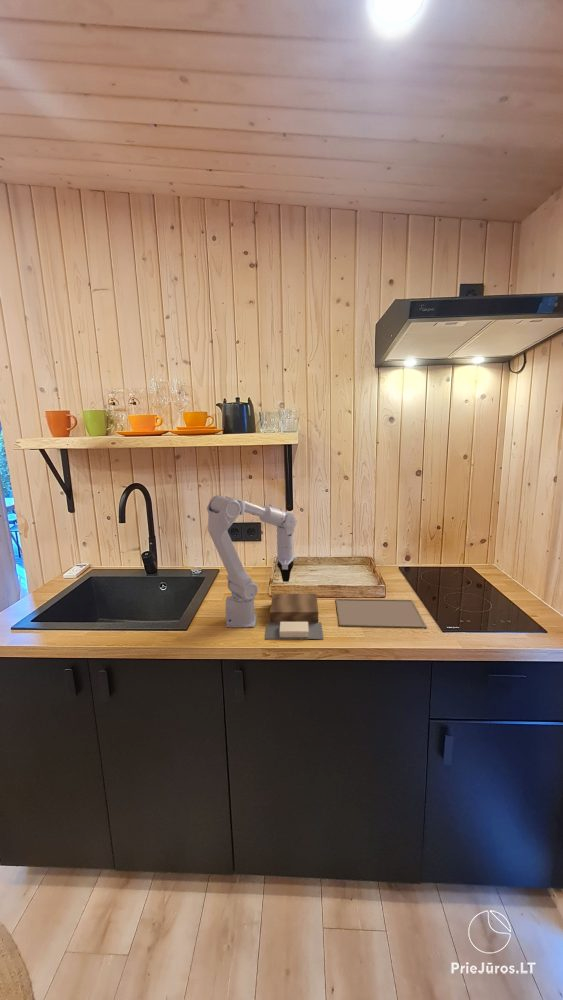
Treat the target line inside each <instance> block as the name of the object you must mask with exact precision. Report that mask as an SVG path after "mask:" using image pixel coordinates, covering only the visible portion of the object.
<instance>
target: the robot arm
mask: <svg viewBox="0 0 563 1000" xmlns="http://www.w3.org/2000/svg"><path fill="white" fill-rule="evenodd" d="M206 511H207V514H208V515H207V516H208V521H207V531H208V533H209V536H210V538H211V540H212V542H213V545H214V546H215V548H216V550H217V553H218V555H219V557H220V560H221V562H222V563H223V566H224V568H225V570H226V573H227V575H226V580H227V589H228V590H229V591H230V592H231V596H227V597H226V598H225V623H226V624H225V627H226V628H255V626H256V621H257V617H258V614H255V597H256V596H257V594H258V592H259V589H258V587H259V586H258V583H256V582H255V581H253V579H252V577H251V576H250V575H249V574H248V573H247V571H246V570H245V568H244V566H243V564H242V561H241V559H240V557H239V555H238V552H237V550H236V548H235V545H234V543H233V540H232V538H231V536H230V534H229V532H228V531H229V529H230V528H231V526H232V525H233V523H234V522H235V521H236V519H238V517H239V516H242V515H243V514H244V513H248V514H251V515H254V516H256V517H259V520H260V521H261V522H262V523H264V524H265V523H266V524H268V525H272V526H275V527H276V540H277V541H276V544H277V545H276V548H277V549H276V550H277V552H276V554H277V556H276V560H277V567H278V569H279V572H280V574H281V579H282V582H284V583H289V582H290V578H291V572H292V569H293V567H294V560H296V561H297V558H298V557H297V555H294V532H295V528H296V525H297V523H298V520H297V518H296V517H295V515H294V514H293V513H290V512H287V511H285V509H283V508H280V509H278V508H275V505H273V504H266V505H264V506H262V507H261V506H259V505H257V504H254V503H251V502H248V501H246V500H243V499H240V498H234V497H229V496H223V495H220V494H218V495H217V494H216V495H214V496H212V498H211V499H210V500H209V502H208V504H207V506H206Z"/></svg>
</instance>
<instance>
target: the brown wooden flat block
mask: <svg viewBox="0 0 563 1000" xmlns="http://www.w3.org/2000/svg"><path fill="white" fill-rule="evenodd" d="M271 596H272V597H271V603H270V610H269V614H270V615H269V616H270V617H269V619H270V621H269V622H319V605H318V596H317V593H272V595H271Z"/></svg>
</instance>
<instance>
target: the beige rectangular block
mask: <svg viewBox="0 0 563 1000" xmlns="http://www.w3.org/2000/svg"><path fill="white" fill-rule="evenodd" d="M280 637H309V630H308V622H280Z"/></svg>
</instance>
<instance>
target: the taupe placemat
mask: <svg viewBox="0 0 563 1000" xmlns="http://www.w3.org/2000/svg"><path fill="white" fill-rule="evenodd" d="M335 606H336V612H337V618H338V619H337V620H338V626H339V627H342V628H343V627H346V628H348V627H349V628H351V627H352V628H395V629H397V628H398V629H399V628H400V629H401V628H404V629H427V628H428V626H427V624H426V623H425V620H424V618H423V617H422V615H421V613H420V611H419V610H418V608H417V606H416V604H415V602H414V600H413V599H391V598H390V599H389V598H388V599H386V598H383V599H382V598H380V599H379V598H378V599H377V598H376V599H375V598H335Z"/></svg>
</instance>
